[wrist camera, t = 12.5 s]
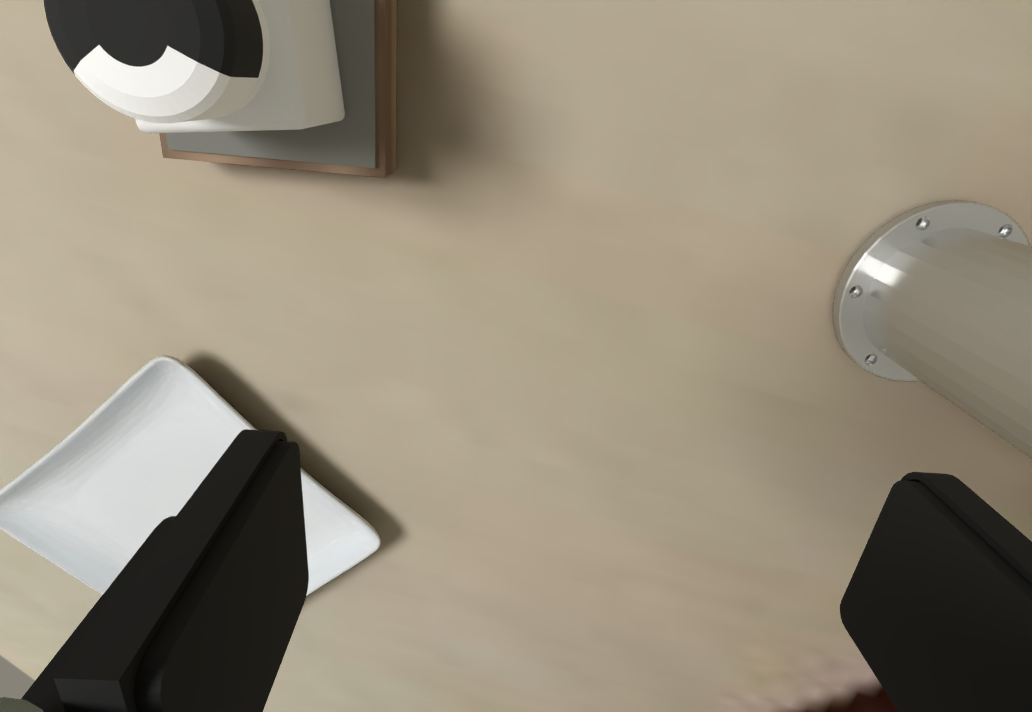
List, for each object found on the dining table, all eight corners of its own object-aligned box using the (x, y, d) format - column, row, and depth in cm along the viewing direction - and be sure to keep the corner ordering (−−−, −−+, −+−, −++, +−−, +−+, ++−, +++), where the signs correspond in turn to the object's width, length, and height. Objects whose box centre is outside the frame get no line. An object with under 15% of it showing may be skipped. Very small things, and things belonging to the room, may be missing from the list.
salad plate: (395, 517, 48) (388, 547, 45) (221, 633, 53) (203, 668, 50) (186, 329, 40) (160, 349, 37) (8, 485, 45) (-29, 514, 42)
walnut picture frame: (397, -67, 31) (383, -87, 27) (396, 169, 36) (384, 178, 32) (163, -94, 30) (117, -118, 26) (195, 150, 35) (160, 158, 31)
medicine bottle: (176, -37, 28) (-33, -115, 17) (326, -40, 28) (214, -121, 17) (212, 124, 31) (54, 144, 20) (347, 120, 31) (264, 139, 20)
